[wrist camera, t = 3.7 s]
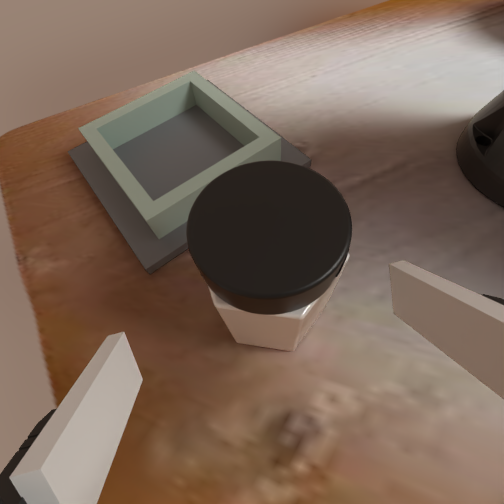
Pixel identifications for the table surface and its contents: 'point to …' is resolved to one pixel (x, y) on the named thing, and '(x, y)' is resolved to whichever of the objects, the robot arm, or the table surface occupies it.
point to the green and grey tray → (170, 159)
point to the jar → (270, 249)
